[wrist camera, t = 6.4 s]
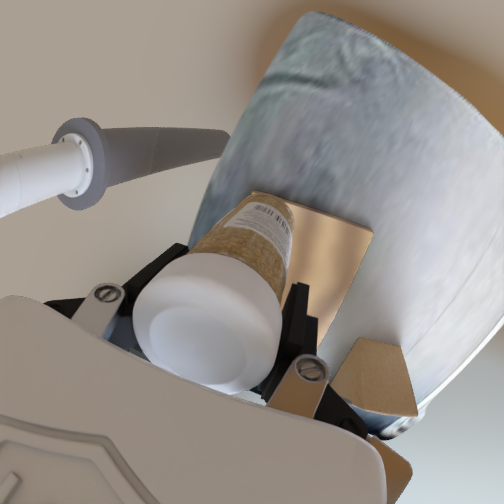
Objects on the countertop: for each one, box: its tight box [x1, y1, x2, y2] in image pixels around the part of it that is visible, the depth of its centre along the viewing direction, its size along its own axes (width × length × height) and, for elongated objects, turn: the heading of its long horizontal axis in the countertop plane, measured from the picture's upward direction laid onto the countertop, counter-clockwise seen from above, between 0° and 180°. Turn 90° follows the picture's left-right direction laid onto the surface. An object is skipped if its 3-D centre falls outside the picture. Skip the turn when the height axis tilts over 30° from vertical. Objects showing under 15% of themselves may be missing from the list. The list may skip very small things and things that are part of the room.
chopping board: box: [251, 190, 374, 349], centre depth 38 cm, size 16×22×2 cm
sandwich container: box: [330, 337, 418, 417], centre depth 35 cm, size 9×15×15 cm, turn 168°
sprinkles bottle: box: [133, 193, 295, 395], centre depth 13 cm, size 5×5×13 cm
